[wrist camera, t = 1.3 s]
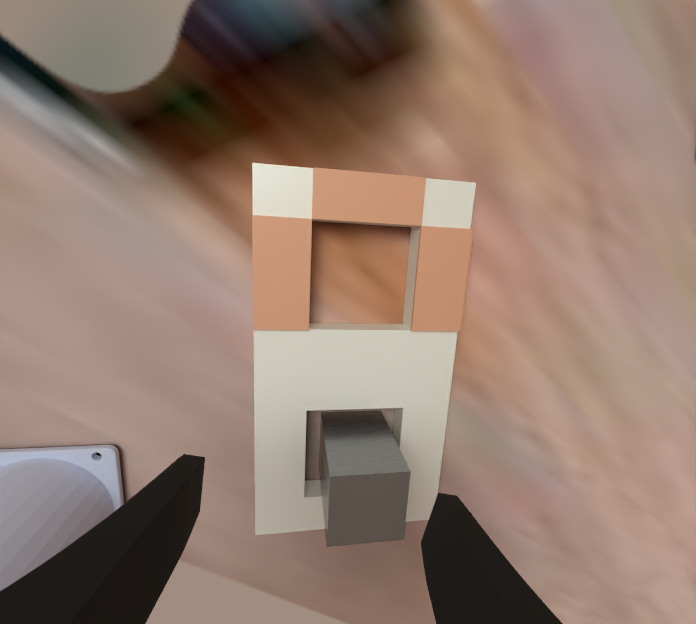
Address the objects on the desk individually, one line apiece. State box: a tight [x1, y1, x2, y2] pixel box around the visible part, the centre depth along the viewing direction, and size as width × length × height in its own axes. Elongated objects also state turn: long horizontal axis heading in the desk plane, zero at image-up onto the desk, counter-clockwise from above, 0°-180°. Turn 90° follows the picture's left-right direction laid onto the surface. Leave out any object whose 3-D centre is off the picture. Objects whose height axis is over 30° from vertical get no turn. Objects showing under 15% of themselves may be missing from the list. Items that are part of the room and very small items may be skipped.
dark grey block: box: [319, 411, 411, 547], centre depth 19 cm, size 4×4×6 cm
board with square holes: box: [252, 163, 476, 535], centre depth 20 cm, size 12×22×2 cm, turn 178°
